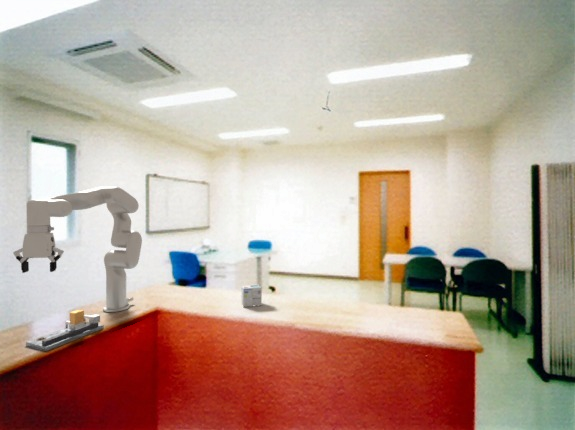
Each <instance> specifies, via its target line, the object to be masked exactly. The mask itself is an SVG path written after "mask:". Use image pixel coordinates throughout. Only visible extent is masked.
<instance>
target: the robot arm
mask: <svg viewBox="0 0 575 430" xmlns="http://www.w3.org/2000/svg"><path fill="white" fill-rule="evenodd" d="M103 204H106V208H107V210H108V211H109V213H110V214H111V216H112V217H113V227H112V233H111V237H110V244H111V246H112V247H114V248H118V249H112V250H110V251H107V252H106V253H105V254H104V257H103V264H104V268H105V274H106V275H105V278H106V279H105V281H106V282H105V285H106V287H105V291H106V292H105V301H106V302H105V303H106V304H105V306H104V307H102V311H103V312H105V313H116V312H121V311H125V310H127V309H129V308H130V304H129V303H130V302H132V301H134V297H133V296H132V297H129V298H128V297H127V273H126V272H127V271H126V269H127V270H130V269H135V267H137V266H138V264H139V261H140V256H141V249H142V245H143V238H142V235H141V233H140V232H139V231H137V230H131V229H132V219H131V217H130V214H134V213H136V212H137V211H138V210H139V202H138V200H137V198H136V197H134V196H133V195H131V194H130V193H129V192H127V191H126V190H125V189H123V188H120V187H118V186H111V185H110V186H108V185H105V186H98V187H95V188H91V189H86V190H82V191H77V192H71V193H67V194H60V195H55V196H52V197H47V198H44V199H28V200H27V201H26V233H25V234H24V236H23V242H22V247H21V248H19V249H17V250H15V251H13V255H14V257H15V259H16V260H17V261H18V262H19V263H20V264H21V265H20V267H21V273H22V274H25V273H27V272H29V269H30V267H29V265H30V264H29V261H28V260H30V259H43V258H45V259H49V261H50V262H49V272H50V273H53V272H56V269H57V261H59V259H60V258H62V256H63V254H64V252H65V251H64V250H63V249H60V248H58V247H57V246H56V240H55V236H54V232H52V231H54V230H55V227H54V226H51V218H65V217H68V216H69V215H71V214H72V212H73V211H79V210H80V211H82V210H87V209H91V208H94V207H97V206H98V207H99V206H101V205H103ZM119 248H120V249H119ZM123 249H125V250H123ZM21 253H22V255H21Z"/></svg>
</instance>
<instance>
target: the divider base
mask: <svg viewBox="0 0 575 430" xmlns="http://www.w3.org/2000/svg"><path fill="white" fill-rule="evenodd" d="M86 319H88V321H86ZM84 323H85V327H83V328H81V329H78V330H71V329H69V326H68V328H67V329H66V327H64V328H62V329H60V330H57V331H54V332H51V333H48V334H44V335H42V336H39V337H37V338H34V339H31V340H28V341H26V342H25V346H26V347H29V348H33V349H37V350H40V351H43V352H48V351H50V350H52V349H55V348H58V347H60V346H62V345H65V344H69V343H70V342H73V341H75V340H77V339H82V338H84V337H86V336H87V335H91V334H92V333H96V332H98V331H100V330H103V329H104V325H103V324H99V323H101V314H91V315H90V314H84Z"/></svg>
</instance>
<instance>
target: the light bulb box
mask: <svg viewBox="0 0 575 430" xmlns="http://www.w3.org/2000/svg"><path fill="white" fill-rule="evenodd" d="M262 291H263V290H262V286H261V285H260V284H249V285H241V306H242V305H243V306H253V305H261V306H262V299H263V298H262V296H263V295H262V293H263V292H262ZM243 306H242V307H243ZM253 307H254V306H253Z"/></svg>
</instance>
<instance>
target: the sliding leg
mask: <svg viewBox="0 0 575 430" xmlns="http://www.w3.org/2000/svg"><path fill="white" fill-rule="evenodd" d="M84 315H85V310H84V309H76V310H73V311H70V312H69V320H65V321H64V323H65V328H66V329H67V328H68V327H69V329H71V330H78V329H81V328H83V327H85V323H84ZM68 325H69V326H68Z"/></svg>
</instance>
